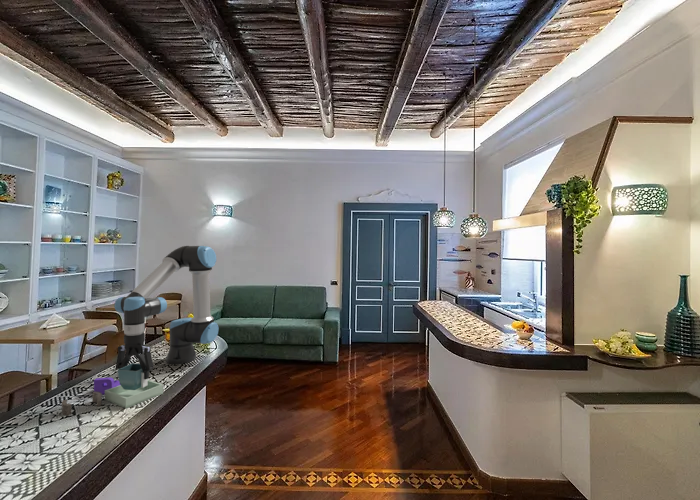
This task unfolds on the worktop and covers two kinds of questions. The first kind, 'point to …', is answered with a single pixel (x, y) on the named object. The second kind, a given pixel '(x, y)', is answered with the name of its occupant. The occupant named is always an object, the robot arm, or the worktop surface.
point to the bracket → (105, 384)
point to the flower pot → (130, 376)
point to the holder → (67, 407)
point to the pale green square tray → (133, 394)
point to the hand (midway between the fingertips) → (134, 385)
